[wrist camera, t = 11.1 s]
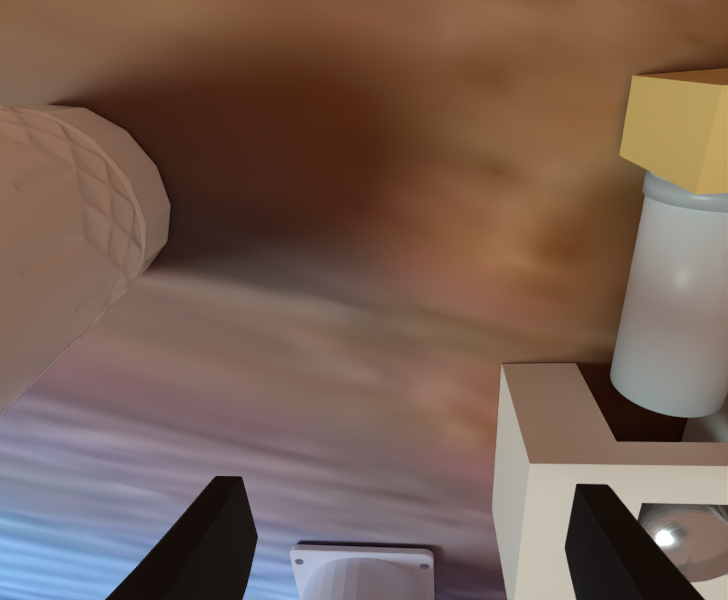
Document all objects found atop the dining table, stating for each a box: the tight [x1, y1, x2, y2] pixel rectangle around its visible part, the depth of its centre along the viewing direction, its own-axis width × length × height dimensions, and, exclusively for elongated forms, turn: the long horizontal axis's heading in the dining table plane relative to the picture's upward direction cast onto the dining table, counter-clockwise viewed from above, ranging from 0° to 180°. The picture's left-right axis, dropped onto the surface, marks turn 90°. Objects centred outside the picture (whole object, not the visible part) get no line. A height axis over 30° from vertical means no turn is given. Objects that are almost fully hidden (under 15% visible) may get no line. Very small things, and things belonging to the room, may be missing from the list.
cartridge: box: [610, 68, 728, 418], centre depth 15 cm, size 10×4×5 cm, turn 4°
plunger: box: [637, 503, 728, 582], centre depth 17 cm, size 3×3×2 cm
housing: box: [492, 363, 728, 600], centre depth 19 cm, size 9×11×6 cm
